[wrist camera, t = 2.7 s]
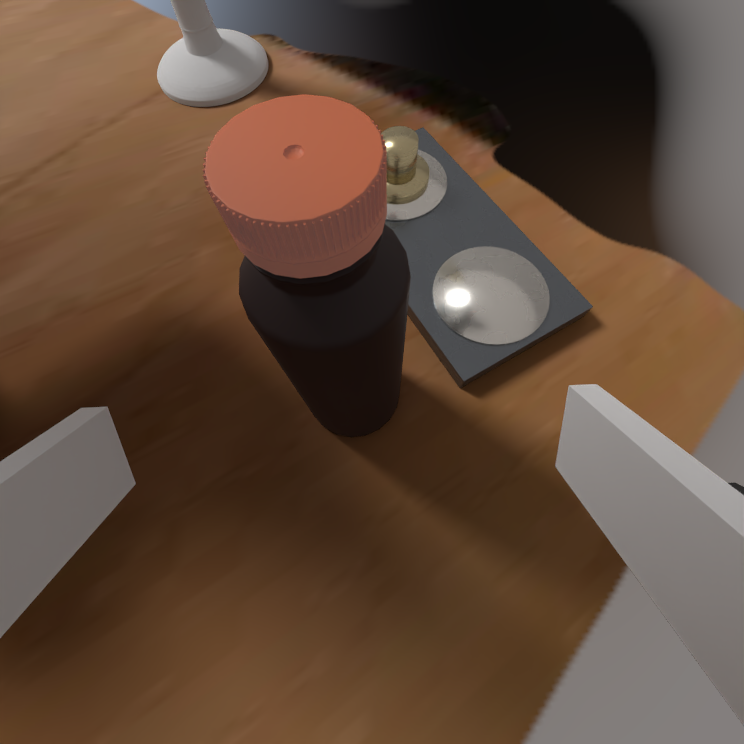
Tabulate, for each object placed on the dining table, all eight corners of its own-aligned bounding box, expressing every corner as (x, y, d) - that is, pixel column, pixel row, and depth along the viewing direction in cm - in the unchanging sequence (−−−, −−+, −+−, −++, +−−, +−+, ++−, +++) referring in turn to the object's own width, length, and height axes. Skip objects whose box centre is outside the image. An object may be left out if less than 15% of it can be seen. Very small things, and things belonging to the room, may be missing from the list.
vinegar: (320, 449, 27) (174, 287, 8) (302, 366, 29) (158, 99, 11) (410, 424, 27) (460, 217, 9) (385, 344, 30) (382, 52, 11)
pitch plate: (317, 188, 36) (305, 131, 31) (421, 141, 38) (427, 80, 33) (460, 388, 28) (476, 357, 23) (583, 316, 30) (625, 272, 25)
